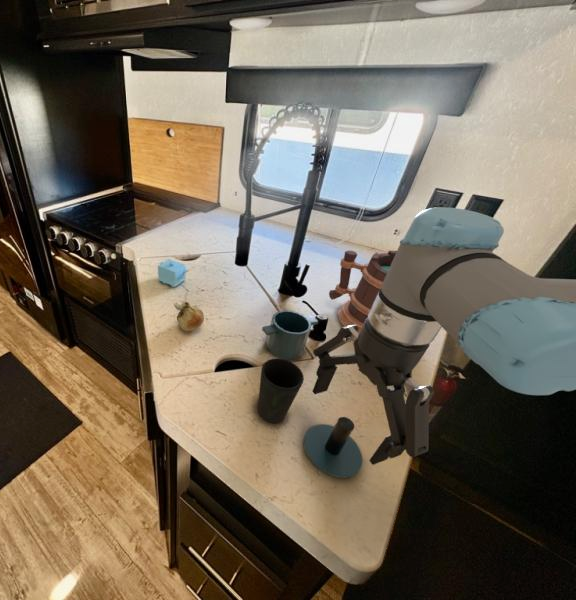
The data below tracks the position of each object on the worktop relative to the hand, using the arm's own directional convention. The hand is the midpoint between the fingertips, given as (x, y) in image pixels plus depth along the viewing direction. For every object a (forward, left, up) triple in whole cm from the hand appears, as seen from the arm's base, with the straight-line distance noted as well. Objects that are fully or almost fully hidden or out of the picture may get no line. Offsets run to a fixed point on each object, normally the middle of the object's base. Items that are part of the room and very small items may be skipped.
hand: (345, 422), depth 53 cm
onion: (+42, +13, -9) cm, 45 cm away
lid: (0, 0, -8) cm, 8 cm away
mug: (+29, -37, -9) cm, 48 cm away
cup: (+11, +6, -9) cm, 15 cm away
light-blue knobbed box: (+66, +10, -9) cm, 67 cm away
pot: (+27, -8, -9) cm, 29 cm away
